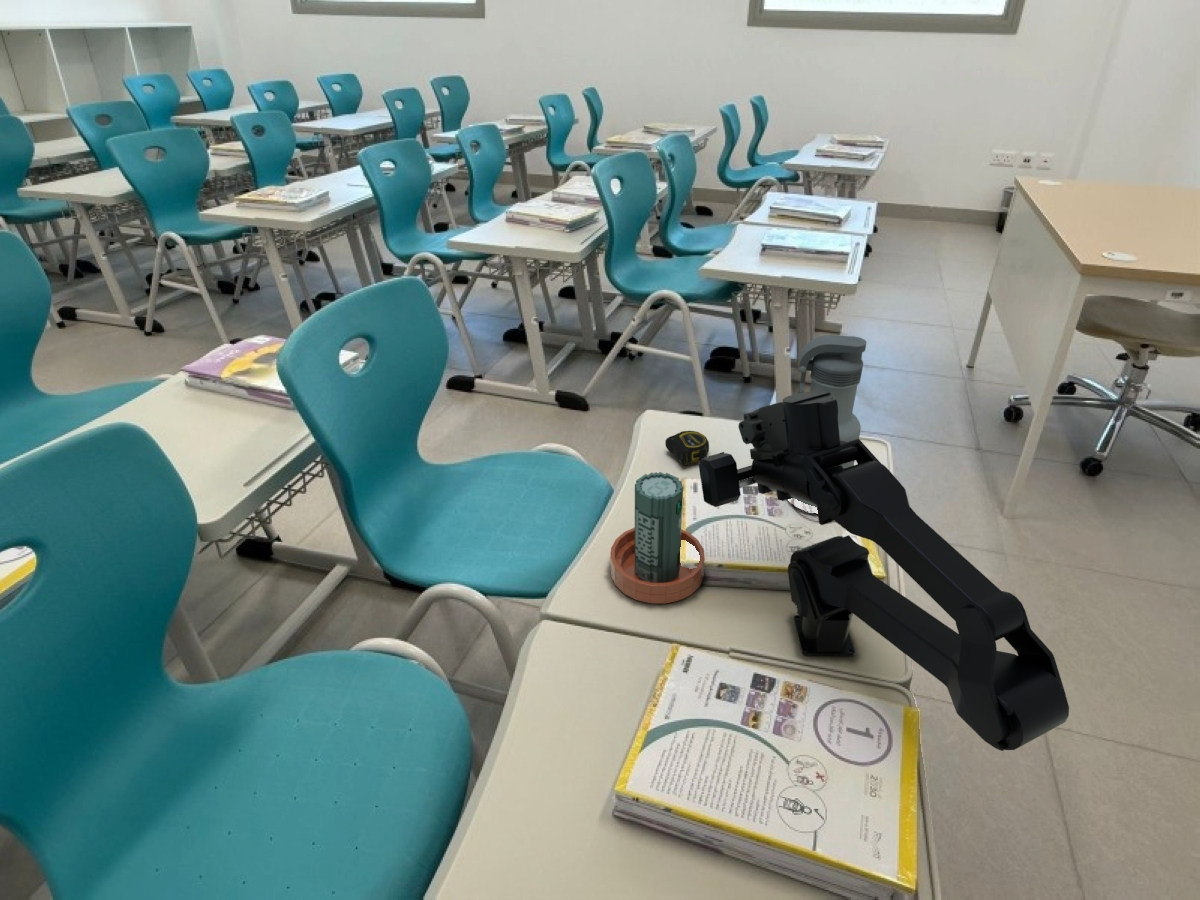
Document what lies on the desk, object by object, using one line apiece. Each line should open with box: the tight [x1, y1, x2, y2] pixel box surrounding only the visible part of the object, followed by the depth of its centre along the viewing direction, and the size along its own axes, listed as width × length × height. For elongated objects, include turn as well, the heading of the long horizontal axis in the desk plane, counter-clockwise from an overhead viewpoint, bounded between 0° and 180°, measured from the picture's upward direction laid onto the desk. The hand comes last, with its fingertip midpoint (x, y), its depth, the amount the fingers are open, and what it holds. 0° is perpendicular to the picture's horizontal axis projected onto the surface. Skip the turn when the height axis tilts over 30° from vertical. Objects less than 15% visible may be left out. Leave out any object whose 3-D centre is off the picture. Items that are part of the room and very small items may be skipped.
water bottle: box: [795, 334, 868, 507], centre depth 110 cm, size 10×10×28 cm
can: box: [634, 471, 684, 583], centre depth 99 cm, size 6×6×15 cm
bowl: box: [610, 526, 706, 604], centre depth 103 cm, size 13×13×4 cm
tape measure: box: [664, 430, 710, 467], centre depth 128 cm, size 7×7×4 cm
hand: (731, 455), depth 102 cm, fingers open, 9 cm apart
